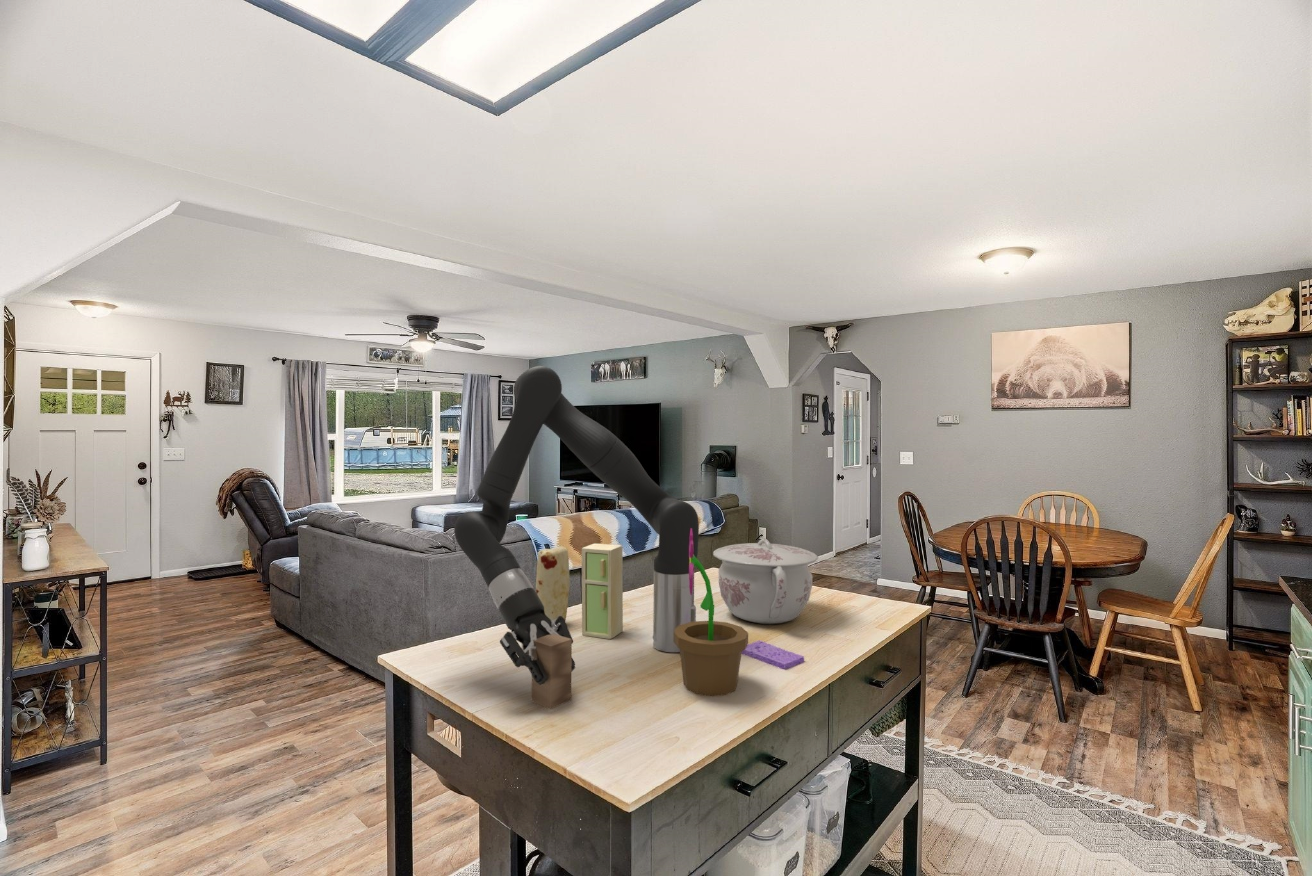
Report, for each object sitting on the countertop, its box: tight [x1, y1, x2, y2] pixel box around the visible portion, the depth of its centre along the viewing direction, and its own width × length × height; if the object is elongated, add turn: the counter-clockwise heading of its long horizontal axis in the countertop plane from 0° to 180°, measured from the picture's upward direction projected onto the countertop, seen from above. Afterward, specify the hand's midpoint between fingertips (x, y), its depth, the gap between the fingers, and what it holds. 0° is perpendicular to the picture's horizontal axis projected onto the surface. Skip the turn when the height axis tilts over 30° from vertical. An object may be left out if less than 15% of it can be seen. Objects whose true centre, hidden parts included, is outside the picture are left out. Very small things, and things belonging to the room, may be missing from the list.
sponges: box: [741, 639, 805, 670], centre depth 134 cm, size 7×13×2 cm, turn 40°
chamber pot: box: [712, 538, 819, 625], centre depth 164 cm, size 28×28×21 cm
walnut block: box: [531, 634, 573, 710], centre depth 112 cm, size 5×5×11 cm
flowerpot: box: [673, 528, 749, 697], centre depth 119 cm, size 14×14×30 cm
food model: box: [535, 545, 570, 629], centre depth 153 cm, size 10×7×20 cm
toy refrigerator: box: [581, 543, 624, 640], centre depth 149 cm, size 8×7×21 cm
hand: (558, 675), depth 111 cm, fingers open, 6 cm apart
